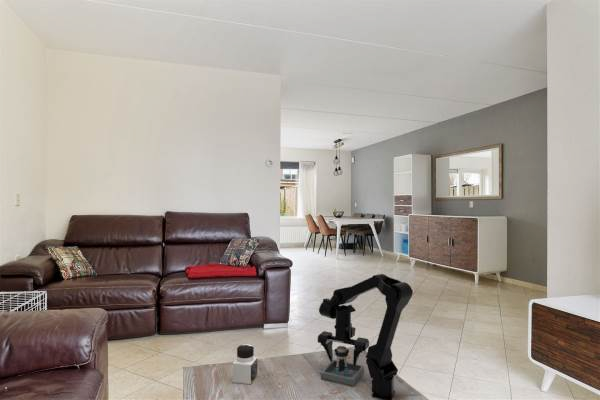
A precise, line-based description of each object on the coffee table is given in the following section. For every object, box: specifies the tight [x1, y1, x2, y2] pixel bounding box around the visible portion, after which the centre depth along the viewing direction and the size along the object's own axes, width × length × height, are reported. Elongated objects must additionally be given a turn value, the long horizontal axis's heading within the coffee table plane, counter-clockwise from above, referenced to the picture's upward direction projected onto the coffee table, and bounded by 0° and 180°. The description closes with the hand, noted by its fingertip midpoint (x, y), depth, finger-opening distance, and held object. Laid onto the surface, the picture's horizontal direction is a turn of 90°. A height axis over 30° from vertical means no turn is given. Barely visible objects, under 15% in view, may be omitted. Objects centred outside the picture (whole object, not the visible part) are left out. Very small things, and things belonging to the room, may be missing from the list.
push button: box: [334, 345, 352, 376], centre depth 138 cm, size 7×5×10 cm
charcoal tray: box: [320, 359, 365, 388], centre depth 138 cm, size 13×13×2 cm
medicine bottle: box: [232, 343, 258, 385], centre depth 135 cm, size 7×7×12 cm
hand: (342, 363), depth 138 cm, fingers open, 9 cm apart
